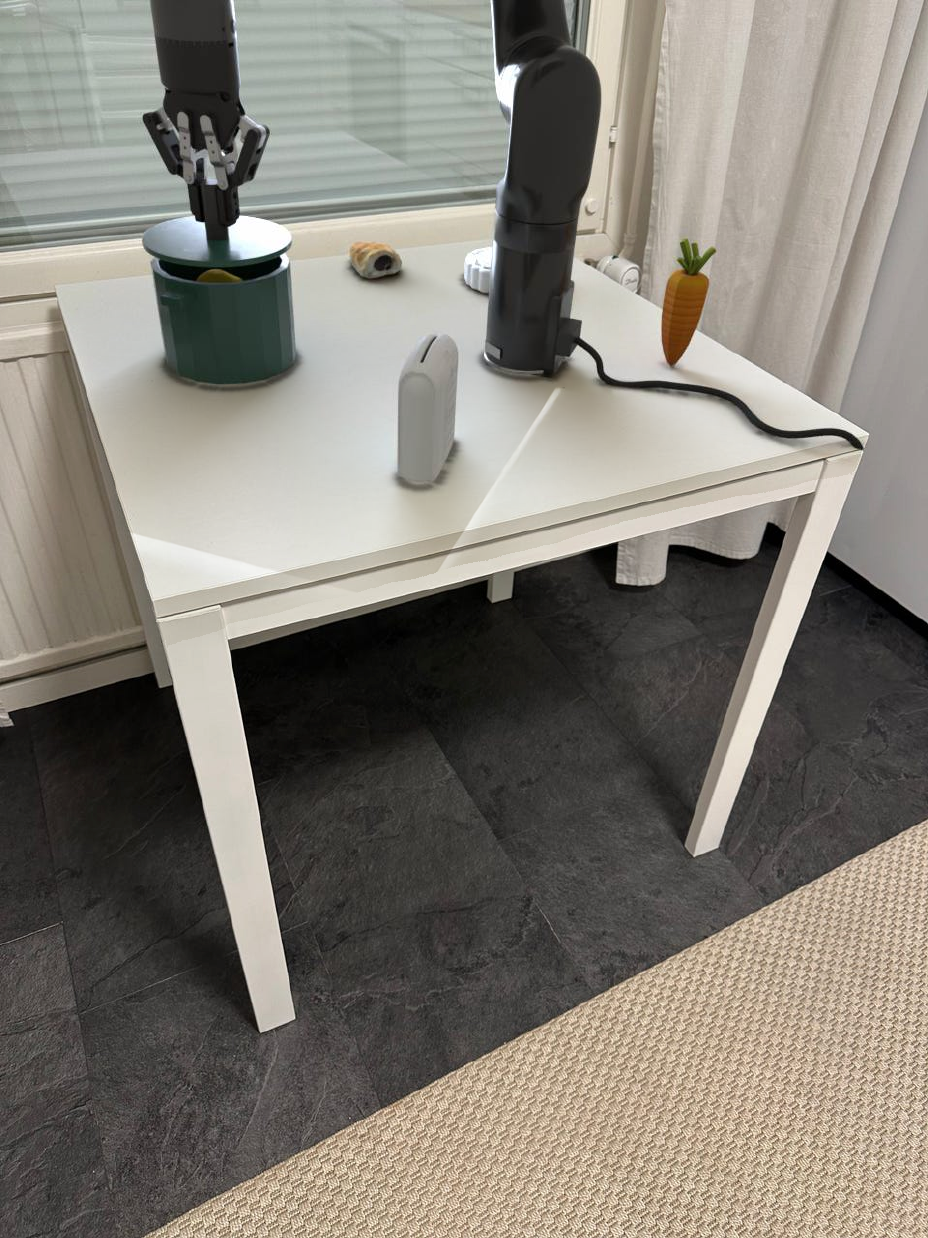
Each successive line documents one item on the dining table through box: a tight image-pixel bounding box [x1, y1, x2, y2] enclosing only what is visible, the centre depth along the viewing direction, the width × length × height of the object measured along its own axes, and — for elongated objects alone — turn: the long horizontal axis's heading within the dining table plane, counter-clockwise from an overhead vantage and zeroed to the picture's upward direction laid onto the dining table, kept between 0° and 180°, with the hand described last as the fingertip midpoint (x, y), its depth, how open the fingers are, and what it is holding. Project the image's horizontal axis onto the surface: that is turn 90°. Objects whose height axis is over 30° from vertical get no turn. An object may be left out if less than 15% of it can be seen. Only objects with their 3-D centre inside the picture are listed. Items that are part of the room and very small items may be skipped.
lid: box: [141, 178, 293, 267], centre depth 97 cm, size 16×16×7 cm
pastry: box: [349, 241, 403, 280], centre depth 133 cm, size 9×7×4 cm
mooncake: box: [463, 246, 492, 294], centre depth 131 cm, size 12×12×4 cm
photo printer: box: [396, 332, 459, 483], centre depth 88 cm, size 10×4×12 cm, turn 168°
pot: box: [149, 252, 297, 386], centre depth 104 cm, size 15×20×12 cm
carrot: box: [660, 238, 717, 367], centre depth 108 cm, size 5×5×15 cm
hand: (216, 221), depth 98 cm, fingers closed on lid, 2 cm apart
